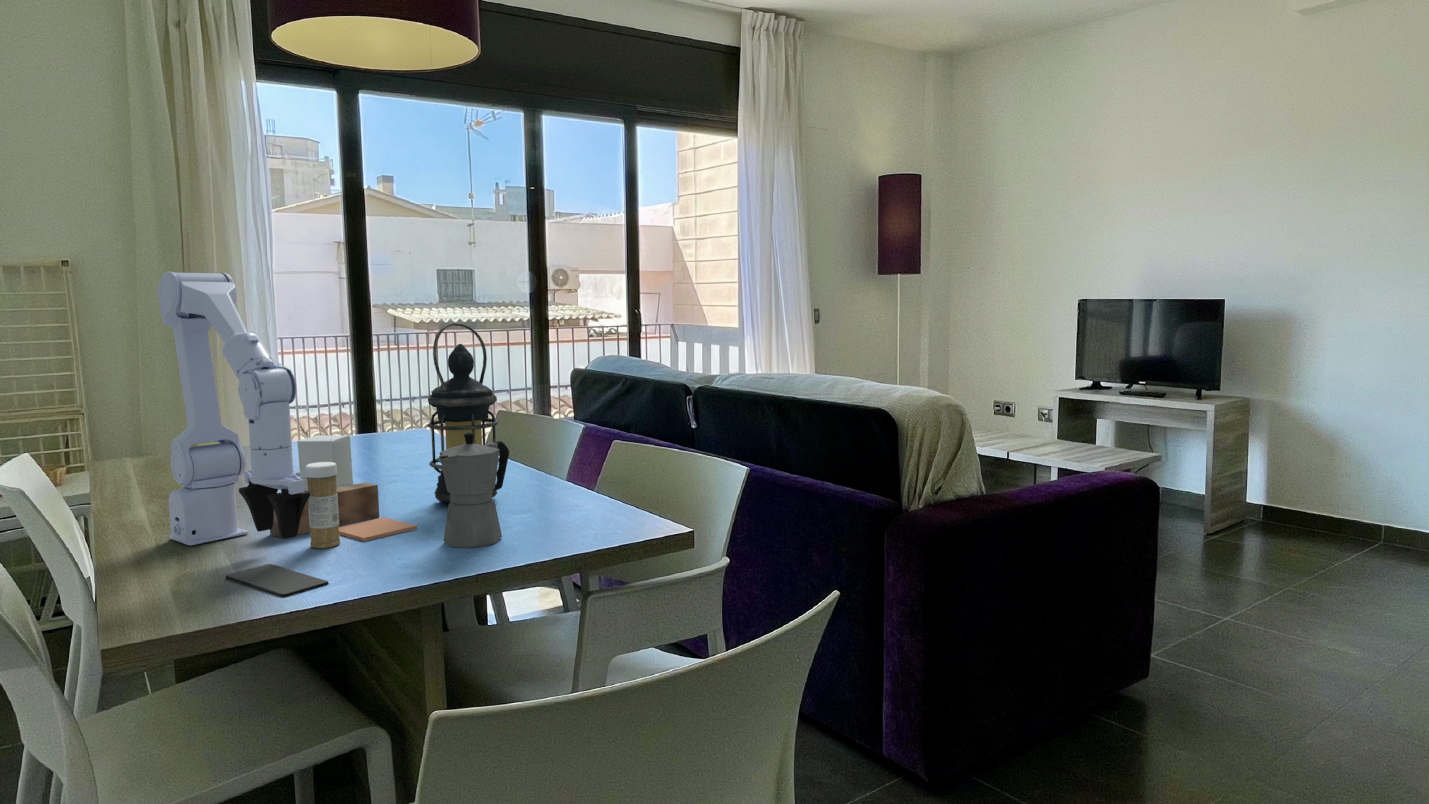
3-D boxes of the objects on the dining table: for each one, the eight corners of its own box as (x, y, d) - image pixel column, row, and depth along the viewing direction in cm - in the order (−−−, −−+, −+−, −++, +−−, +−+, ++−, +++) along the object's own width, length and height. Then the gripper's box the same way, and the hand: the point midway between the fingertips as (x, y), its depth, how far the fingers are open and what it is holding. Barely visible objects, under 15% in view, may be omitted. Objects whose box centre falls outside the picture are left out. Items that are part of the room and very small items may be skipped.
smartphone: (283, 594, 118) (223, 574, 126) (283, 601, 118) (224, 581, 126) (330, 581, 124) (270, 562, 132) (330, 587, 124) (271, 568, 132)
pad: (364, 541, 146) (364, 537, 146) (331, 532, 152) (331, 528, 152) (417, 528, 154) (416, 525, 153) (383, 520, 160) (383, 517, 159)
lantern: (467, 513, 165) (460, 324, 161) (414, 506, 170) (405, 323, 166) (516, 497, 177) (510, 322, 173) (464, 492, 183) (458, 322, 179)
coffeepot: (464, 554, 138) (460, 440, 136) (421, 546, 142) (416, 436, 140) (531, 532, 151) (528, 427, 149) (489, 525, 156) (486, 424, 154)
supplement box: (355, 496, 180) (351, 434, 178) (336, 504, 172) (332, 440, 171) (320, 495, 180) (316, 434, 179) (300, 504, 173) (296, 440, 172)
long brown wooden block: (282, 538, 148) (279, 503, 147) (269, 534, 150) (266, 499, 150) (379, 517, 162) (377, 484, 161) (365, 513, 165) (364, 482, 164)
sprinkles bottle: (323, 540, 146) (319, 460, 145) (347, 542, 145) (342, 461, 143) (303, 548, 142) (298, 465, 140) (327, 550, 141) (322, 466, 139)
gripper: (321, 447, 134) (326, 535, 136) (273, 439, 143) (278, 521, 144) (275, 454, 129) (280, 545, 130) (228, 445, 137) (234, 530, 139)
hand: (276, 533), depth 137 cm, fingers open, 7 cm apart
